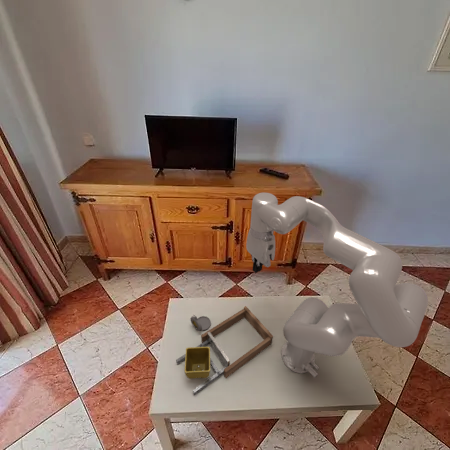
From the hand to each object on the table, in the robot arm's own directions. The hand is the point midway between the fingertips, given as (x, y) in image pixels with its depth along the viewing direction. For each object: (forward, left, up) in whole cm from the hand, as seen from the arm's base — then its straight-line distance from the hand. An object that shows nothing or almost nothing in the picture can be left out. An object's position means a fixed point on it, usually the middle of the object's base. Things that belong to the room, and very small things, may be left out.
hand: (257, 270), depth 94 cm
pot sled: (-4, +27, -32) cm, 42 cm away
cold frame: (-4, +11, -32) cm, 34 cm away
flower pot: (-5, +29, -32) cm, 44 cm away
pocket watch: (+11, +19, -32) cm, 39 cm away
